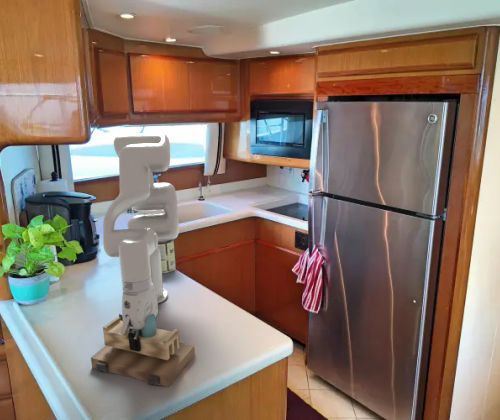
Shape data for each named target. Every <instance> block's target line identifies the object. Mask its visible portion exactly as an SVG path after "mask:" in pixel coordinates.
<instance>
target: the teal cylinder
mask: <svg viewBox="0 0 500 420" xmlns="http://www.w3.org/2000/svg"><path fill="white" fill-rule="evenodd" d="M156 321H157V320H156V316H155V315H154V314H153V315H151V316H150V317H149V318H148V319H147V320H146V321H145V326H144V327H143V328H142V329H141V335H142V337H145V338H149V337H153V336H154V335H156V328H157V323H156Z"/></svg>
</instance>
